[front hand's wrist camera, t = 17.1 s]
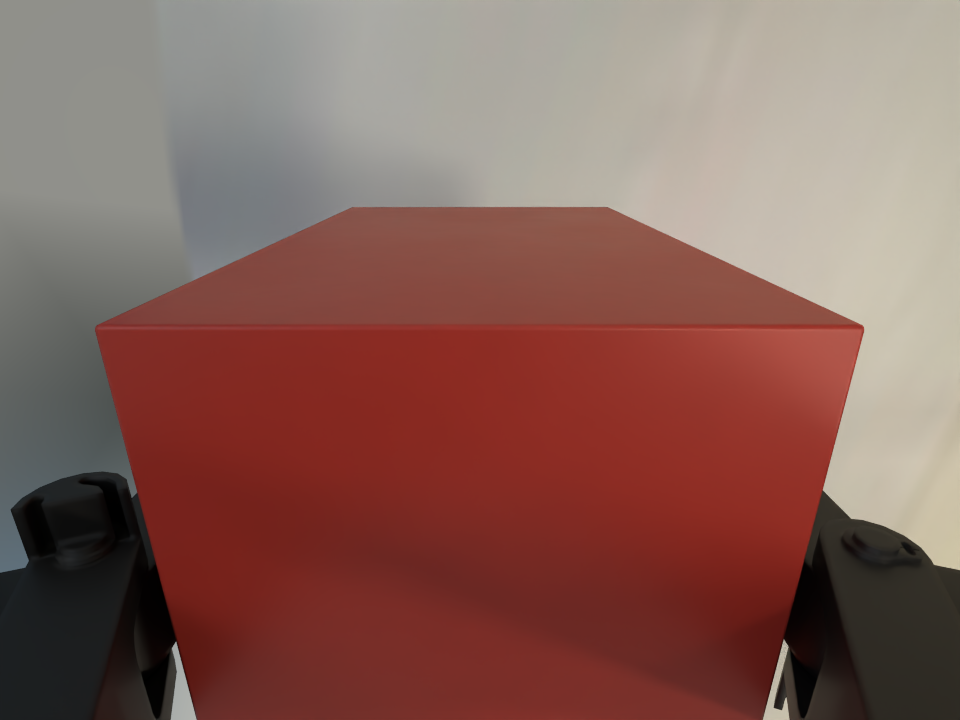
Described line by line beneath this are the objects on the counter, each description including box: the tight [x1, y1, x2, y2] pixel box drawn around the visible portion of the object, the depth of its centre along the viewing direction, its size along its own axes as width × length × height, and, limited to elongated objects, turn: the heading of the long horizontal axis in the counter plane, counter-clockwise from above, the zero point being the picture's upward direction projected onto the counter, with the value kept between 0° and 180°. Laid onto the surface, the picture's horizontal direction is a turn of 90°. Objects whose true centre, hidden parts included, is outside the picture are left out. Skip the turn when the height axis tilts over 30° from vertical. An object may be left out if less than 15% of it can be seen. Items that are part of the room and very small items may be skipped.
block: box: [95, 207, 864, 720], centre depth 12 cm, size 7×9×11 cm
